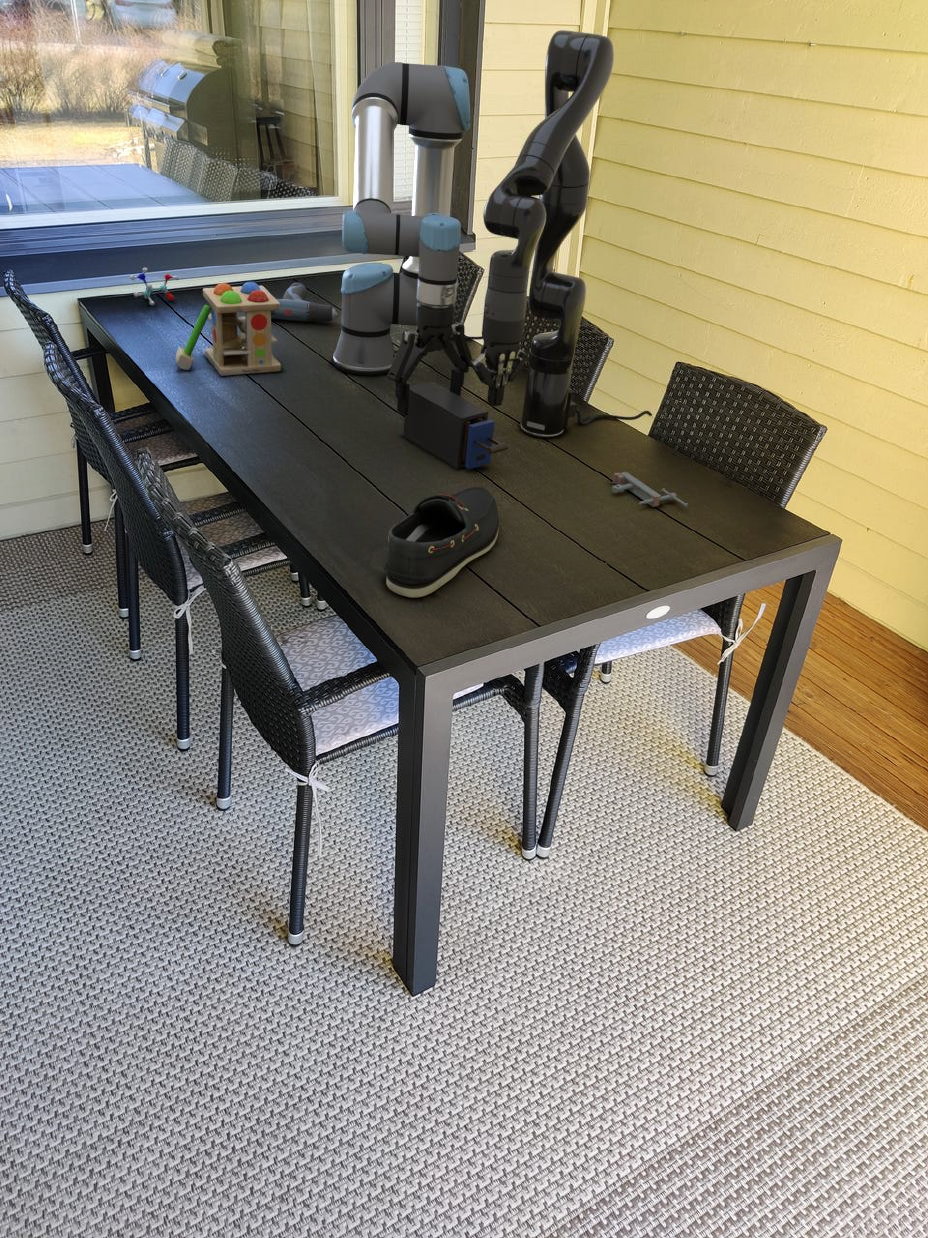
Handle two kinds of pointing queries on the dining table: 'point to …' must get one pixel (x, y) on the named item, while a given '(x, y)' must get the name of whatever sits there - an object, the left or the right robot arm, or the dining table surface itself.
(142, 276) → the molecular model
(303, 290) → the power drill
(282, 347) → the dining table surface
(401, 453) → the dining table surface
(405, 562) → the boat shoe
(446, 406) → the cabinet
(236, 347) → the pounding bench toy
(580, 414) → the right robot arm
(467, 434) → the drawer
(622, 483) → the clamp
